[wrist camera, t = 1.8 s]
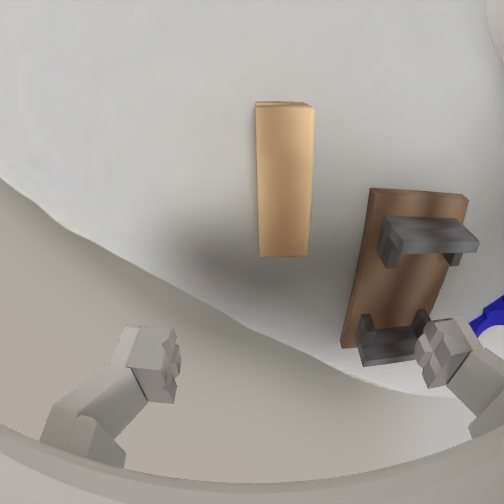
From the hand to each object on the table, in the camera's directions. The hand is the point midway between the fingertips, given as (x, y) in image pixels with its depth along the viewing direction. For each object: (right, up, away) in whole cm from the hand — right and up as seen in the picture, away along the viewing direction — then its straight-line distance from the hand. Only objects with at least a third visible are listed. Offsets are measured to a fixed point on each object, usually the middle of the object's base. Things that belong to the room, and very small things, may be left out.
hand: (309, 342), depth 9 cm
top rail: (+1, +11, +18) cm, 21 cm away
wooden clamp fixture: (+16, 0, +24) cm, 29 cm away
